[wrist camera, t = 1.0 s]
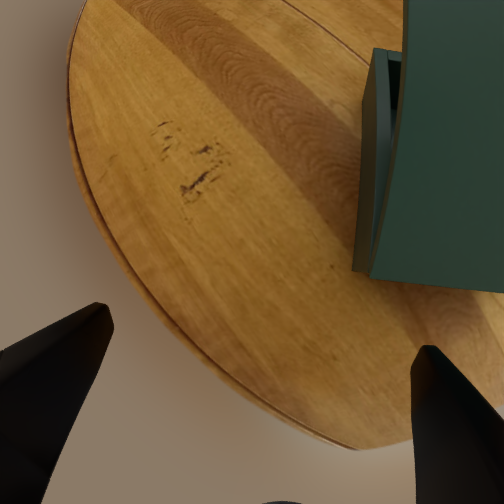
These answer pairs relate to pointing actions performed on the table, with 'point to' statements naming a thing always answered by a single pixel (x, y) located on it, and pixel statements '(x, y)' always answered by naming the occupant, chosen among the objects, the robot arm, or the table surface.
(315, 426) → the table surface
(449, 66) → the lid
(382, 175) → the chest
